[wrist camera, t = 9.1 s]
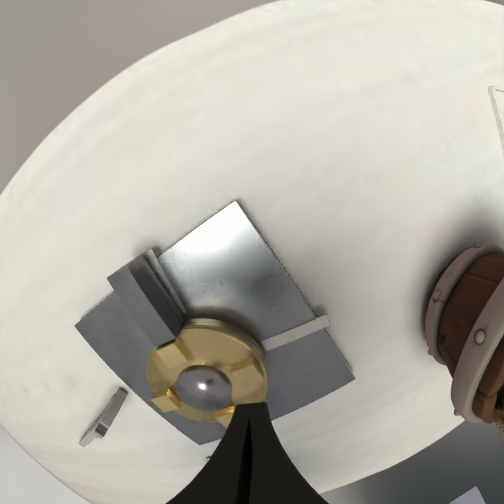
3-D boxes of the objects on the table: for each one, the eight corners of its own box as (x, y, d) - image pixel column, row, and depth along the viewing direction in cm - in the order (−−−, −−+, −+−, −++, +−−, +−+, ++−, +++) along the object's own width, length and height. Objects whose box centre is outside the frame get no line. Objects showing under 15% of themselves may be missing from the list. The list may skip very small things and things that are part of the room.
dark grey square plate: (359, 366, 22) (364, 374, 20) (200, 437, 25) (199, 445, 23) (238, 180, 18) (237, 180, 17) (74, 311, 21) (67, 317, 19)
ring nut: (285, 383, 20) (289, 409, 17) (196, 414, 21) (190, 438, 18) (184, 227, 17) (170, 237, 14) (93, 286, 18) (72, 302, 15)
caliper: (121, 384, 23) (97, 426, 17) (129, 390, 23) (107, 433, 17) (80, 439, 27) (65, 466, 21) (86, 443, 27) (71, 470, 21)
